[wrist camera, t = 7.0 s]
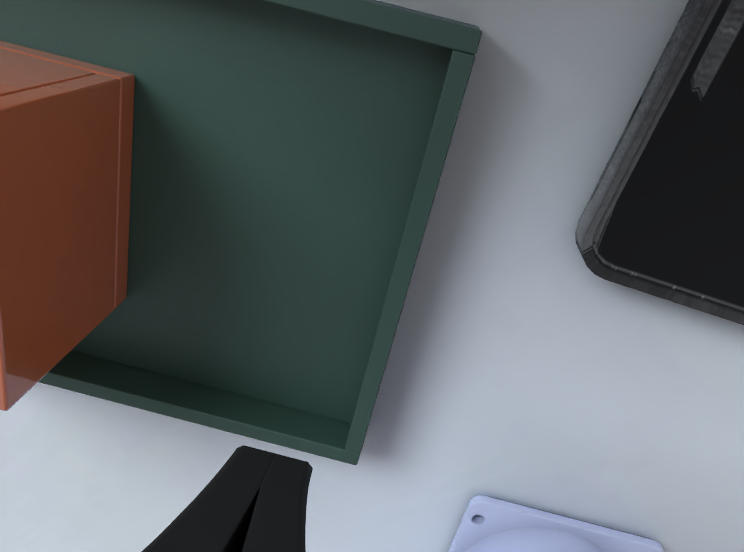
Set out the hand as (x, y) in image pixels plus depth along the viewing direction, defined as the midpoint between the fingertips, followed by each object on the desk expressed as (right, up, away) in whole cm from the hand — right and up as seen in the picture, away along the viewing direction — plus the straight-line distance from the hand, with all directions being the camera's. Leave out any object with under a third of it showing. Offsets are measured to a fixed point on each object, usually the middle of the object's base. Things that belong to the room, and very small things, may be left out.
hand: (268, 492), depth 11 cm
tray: (-7, +7, +9) cm, 13 cm away
